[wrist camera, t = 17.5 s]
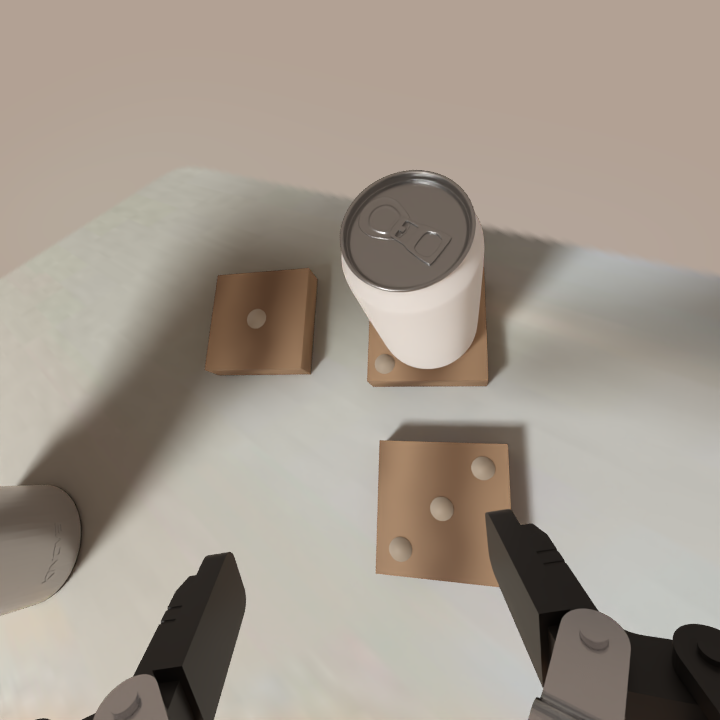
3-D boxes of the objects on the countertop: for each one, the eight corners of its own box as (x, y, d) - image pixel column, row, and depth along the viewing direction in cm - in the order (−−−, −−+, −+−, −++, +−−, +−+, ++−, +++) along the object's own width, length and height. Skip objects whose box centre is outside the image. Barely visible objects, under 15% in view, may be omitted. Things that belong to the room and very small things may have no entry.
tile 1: (219, 375, 33) (204, 369, 31) (230, 285, 35) (217, 275, 33) (310, 374, 31) (300, 368, 29) (317, 279, 33) (308, 267, 31)
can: (419, 266, 29) (391, 138, 18) (497, 313, 27) (521, 201, 16) (364, 336, 29) (300, 251, 18) (438, 390, 27) (420, 332, 15)
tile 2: (373, 386, 30) (367, 381, 28) (376, 286, 32) (371, 274, 30) (486, 386, 28) (488, 380, 26) (482, 279, 30) (484, 266, 28)
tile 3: (382, 565, 27) (375, 573, 25) (385, 442, 29) (379, 440, 27) (510, 579, 25) (514, 589, 23) (504, 445, 27) (507, 444, 25)
